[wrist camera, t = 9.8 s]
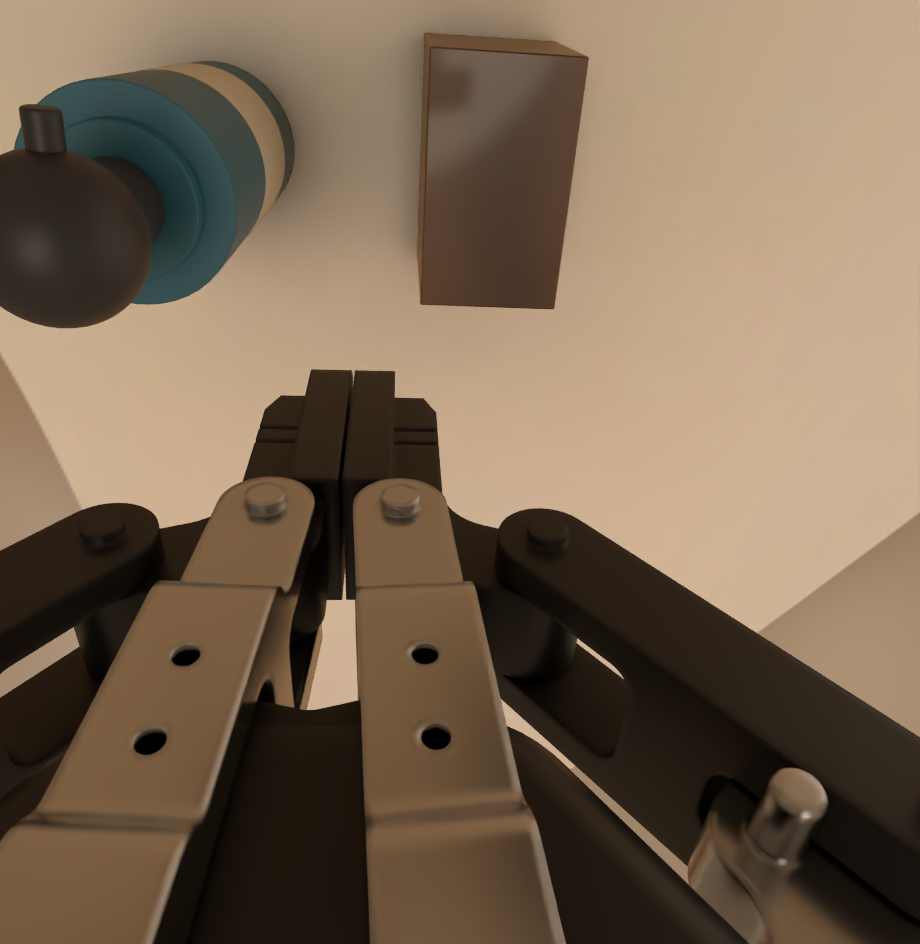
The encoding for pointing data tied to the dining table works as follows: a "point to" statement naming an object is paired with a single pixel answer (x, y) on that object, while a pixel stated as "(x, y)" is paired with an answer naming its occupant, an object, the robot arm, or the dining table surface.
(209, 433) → the dining table surface
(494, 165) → the walnut block
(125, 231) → the striped banded cylinder
